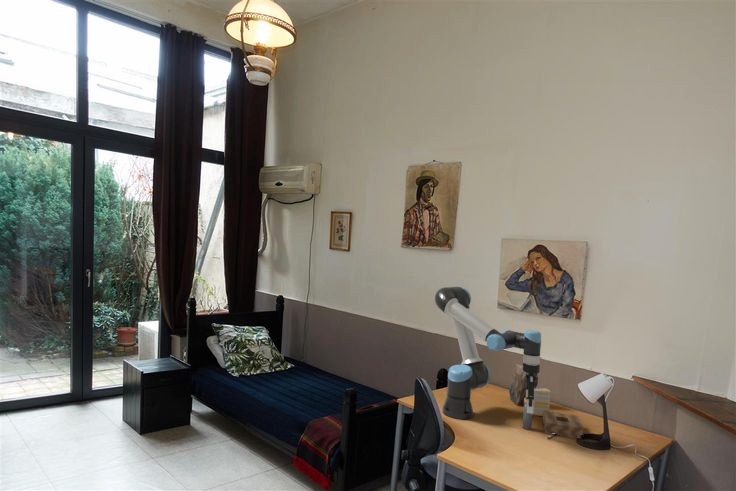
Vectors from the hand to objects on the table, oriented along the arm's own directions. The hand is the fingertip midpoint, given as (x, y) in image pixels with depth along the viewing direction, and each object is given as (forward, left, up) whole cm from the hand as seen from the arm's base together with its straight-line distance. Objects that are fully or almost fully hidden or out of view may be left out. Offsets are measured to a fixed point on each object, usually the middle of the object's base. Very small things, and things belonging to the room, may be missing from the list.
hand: (529, 408), depth 215 cm
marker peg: (0, 0, -10) cm, 10 cm away
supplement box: (+7, +22, -10) cm, 25 cm away
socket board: (+16, +6, -10) cm, 19 cm away
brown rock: (-2, +36, -10) cm, 38 cm away
